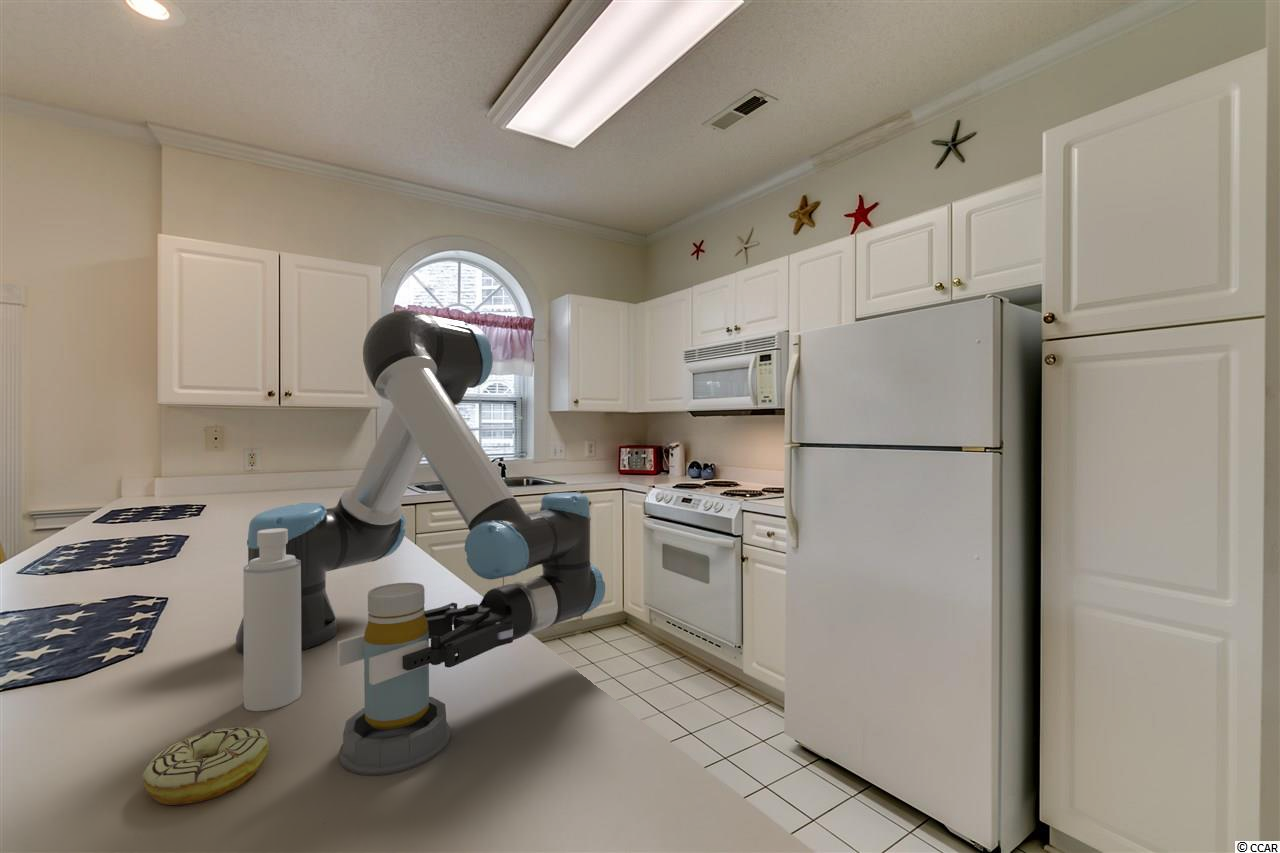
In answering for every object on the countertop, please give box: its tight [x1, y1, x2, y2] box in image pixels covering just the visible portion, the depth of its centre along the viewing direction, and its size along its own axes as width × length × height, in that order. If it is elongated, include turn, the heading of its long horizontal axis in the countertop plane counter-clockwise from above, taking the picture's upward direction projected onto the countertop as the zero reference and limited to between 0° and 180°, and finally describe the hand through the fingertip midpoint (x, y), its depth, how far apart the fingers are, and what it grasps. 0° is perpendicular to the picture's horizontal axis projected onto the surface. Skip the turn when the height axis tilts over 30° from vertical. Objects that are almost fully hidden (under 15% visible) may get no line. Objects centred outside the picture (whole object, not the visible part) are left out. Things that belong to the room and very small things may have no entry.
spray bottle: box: [242, 528, 302, 712], centre depth 78 cm, size 7×7×25 cm
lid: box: [339, 696, 451, 776], centre depth 67 cm, size 12×12×3 cm
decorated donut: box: [142, 726, 270, 806], centre depth 61 cm, size 10×11×4 cm
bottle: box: [363, 582, 430, 730], centre depth 67 cm, size 7×7×15 cm
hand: (354, 662), depth 63 cm, fingers closed on bottle, 7 cm apart
